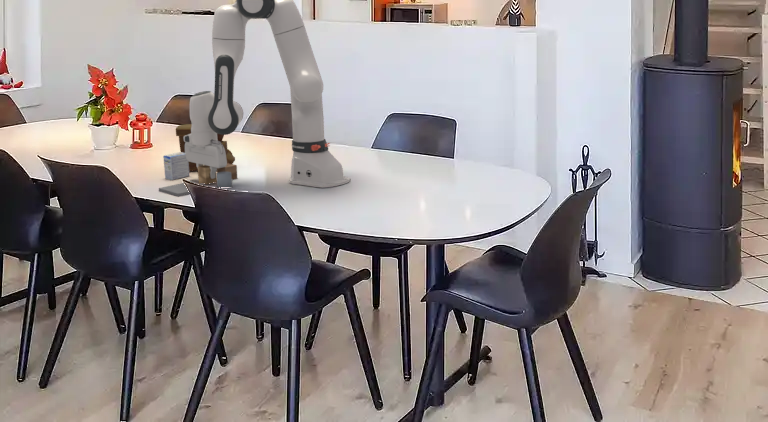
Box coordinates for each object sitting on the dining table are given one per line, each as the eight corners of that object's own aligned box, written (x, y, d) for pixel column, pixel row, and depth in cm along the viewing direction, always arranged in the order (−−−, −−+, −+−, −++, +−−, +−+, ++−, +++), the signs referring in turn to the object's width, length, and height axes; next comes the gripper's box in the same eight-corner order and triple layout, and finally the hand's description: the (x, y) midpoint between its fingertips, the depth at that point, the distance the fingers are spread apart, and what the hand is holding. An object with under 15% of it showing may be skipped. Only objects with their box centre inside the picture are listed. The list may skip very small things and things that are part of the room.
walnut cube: (237, 178, 314) (236, 165, 312) (226, 181, 310) (225, 167, 309) (229, 176, 317) (228, 163, 316) (217, 179, 314) (216, 165, 312)
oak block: (216, 182, 308) (215, 166, 306) (206, 185, 305) (205, 168, 303) (209, 180, 311) (208, 164, 309) (198, 183, 308) (197, 166, 306)
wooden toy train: (178, 172, 325) (174, 128, 321) (184, 166, 336) (180, 123, 332) (231, 171, 326) (229, 127, 321) (236, 164, 337) (233, 122, 332)
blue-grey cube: (235, 187, 301) (234, 172, 300) (223, 189, 298) (222, 175, 296) (226, 184, 304) (225, 170, 303) (214, 187, 301) (213, 173, 300)
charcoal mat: (206, 190, 297) (206, 187, 297) (178, 196, 289) (178, 193, 289) (186, 185, 305) (185, 182, 305) (158, 191, 297) (158, 188, 297)
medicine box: (182, 174, 321) (180, 151, 319) (190, 176, 319) (188, 153, 316) (164, 178, 315) (162, 155, 313) (172, 180, 313) (170, 156, 310)
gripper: (229, 140, 299) (232, 179, 302) (195, 133, 312) (198, 171, 316) (214, 143, 294) (217, 182, 298) (180, 136, 308) (183, 174, 312)
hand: (207, 177), depth 307 cm, fingers closed on oak block, 4 cm apart
